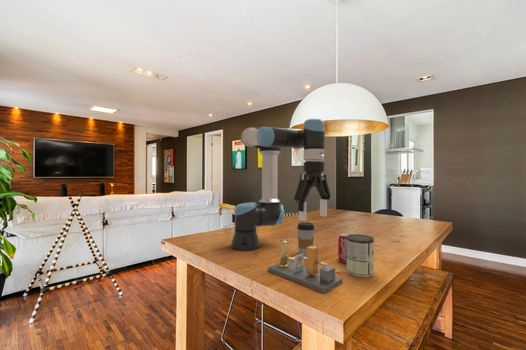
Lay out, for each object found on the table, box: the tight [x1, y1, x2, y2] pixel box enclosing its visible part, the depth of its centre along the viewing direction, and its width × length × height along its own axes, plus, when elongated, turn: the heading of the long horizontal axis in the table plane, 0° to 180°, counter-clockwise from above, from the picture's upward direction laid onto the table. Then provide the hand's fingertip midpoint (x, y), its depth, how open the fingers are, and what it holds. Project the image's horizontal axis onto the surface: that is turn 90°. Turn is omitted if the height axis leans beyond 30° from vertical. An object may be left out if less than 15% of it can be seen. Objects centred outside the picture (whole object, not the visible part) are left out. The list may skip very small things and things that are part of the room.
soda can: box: [337, 232, 352, 264], centre depth 113 cm, size 7×7×12 cm
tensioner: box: [319, 265, 336, 284], centre depth 88 cm, size 3×5×4 cm, turn 134°
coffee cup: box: [297, 221, 315, 257], centre depth 122 cm, size 8×8×15 cm
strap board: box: [267, 260, 343, 294], centre depth 96 cm, size 26×12×2 cm, turn 44°
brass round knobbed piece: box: [277, 239, 294, 268], centre depth 102 cm, size 8×5×10 cm, turn 44°
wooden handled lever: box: [293, 245, 329, 276], centre depth 93 cm, size 13×5×10 cm, turn 44°
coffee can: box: [346, 233, 375, 278], centre depth 100 cm, size 10×10×14 cm
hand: (313, 218), depth 93 cm, fingers open, 13 cm apart
